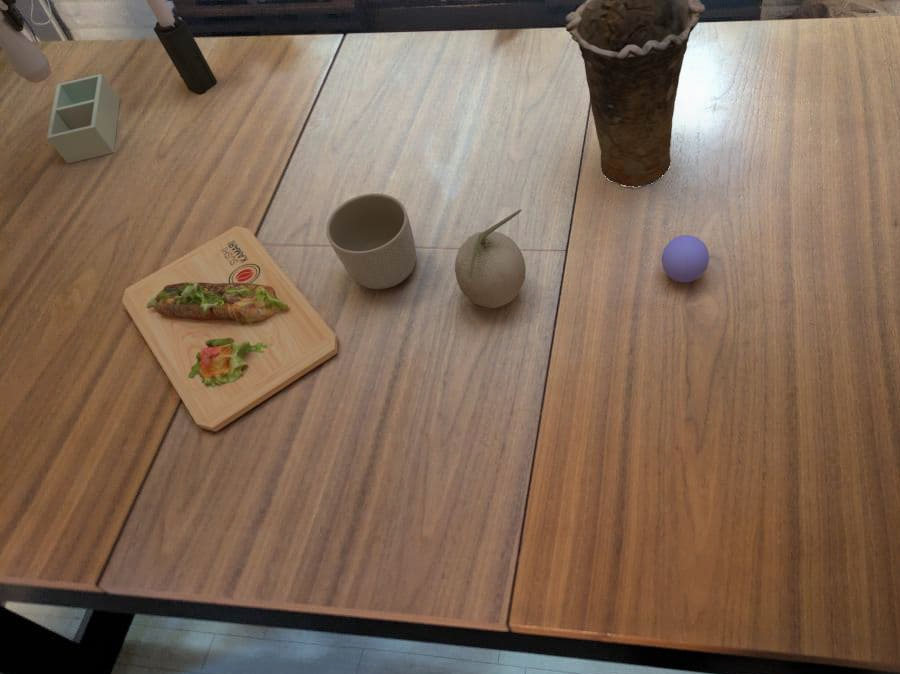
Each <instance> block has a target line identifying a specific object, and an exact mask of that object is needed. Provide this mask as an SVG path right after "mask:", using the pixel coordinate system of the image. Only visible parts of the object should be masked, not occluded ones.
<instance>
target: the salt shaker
mask: <svg viewBox="0 0 900 674" xmlns="http://www.w3.org/2000/svg"><path fill="white" fill-rule="evenodd" d="M0 48H1V50H2V51H3V53H4V55H5V56H6V59H7V60H8V62H9V63H10V65H11V67H12V69H13V71H14V72H15V73H16V74H17V75H18V76H20V77H22V78H23V79H25V80H26V81H27V82H29V83H35V84H38V83H40V82H43V81H45V80H47V79H48V78H49V77H50V76H51V74H52V68H51V66H50V61H49V59H48V57H47V55H46V54H45V53H44V52H43V51H42V50H41V49H40V48H39V47H38V46H37V45H36V44H34V42H33V41H32V40H30V38H28V36H27V35H25V34H24V32H23V31H20V32H17V31H16V29H15V28H14V27H13V25H12V24H11V23H10V22H9V20H8V19H7V18H6V16H5V15H4V14H3V12H2V9H1V8H0Z"/></svg>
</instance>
